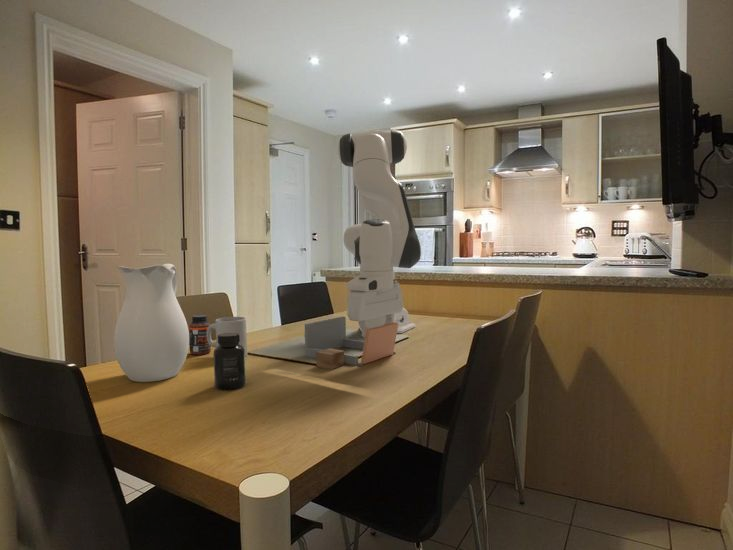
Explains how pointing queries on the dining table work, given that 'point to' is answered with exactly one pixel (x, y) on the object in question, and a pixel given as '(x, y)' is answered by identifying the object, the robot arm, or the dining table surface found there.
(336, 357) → the block
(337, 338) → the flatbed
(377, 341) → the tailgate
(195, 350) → the supplement bottle
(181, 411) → the dining table surface
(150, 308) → the pitcher
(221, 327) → the mug
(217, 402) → the dining table surface
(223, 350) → the supplement bottle
